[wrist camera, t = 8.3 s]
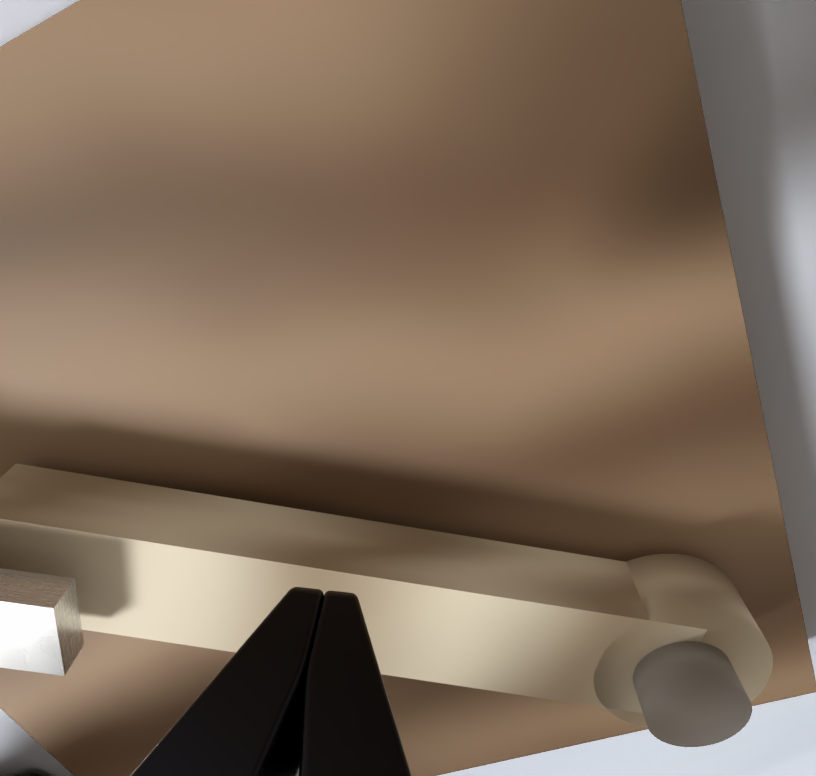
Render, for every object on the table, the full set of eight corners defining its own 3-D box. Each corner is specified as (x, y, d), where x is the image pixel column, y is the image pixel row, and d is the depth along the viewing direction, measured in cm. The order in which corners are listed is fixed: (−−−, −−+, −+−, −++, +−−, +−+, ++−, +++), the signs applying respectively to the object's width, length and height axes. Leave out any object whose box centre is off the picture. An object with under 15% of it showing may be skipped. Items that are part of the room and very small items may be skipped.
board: (790, 647, 18) (817, 691, 17) (161, 796, 23) (145, 839, 22) (591, -262, 10) (617, -317, 8) (-361, 285, 14) (-442, 307, 13)
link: (764, 567, 15) (831, 667, 12) (700, 676, 17) (747, 781, 14) (13, 445, 14) (-78, 525, 11) (32, 573, 16) (-43, 667, 13)
